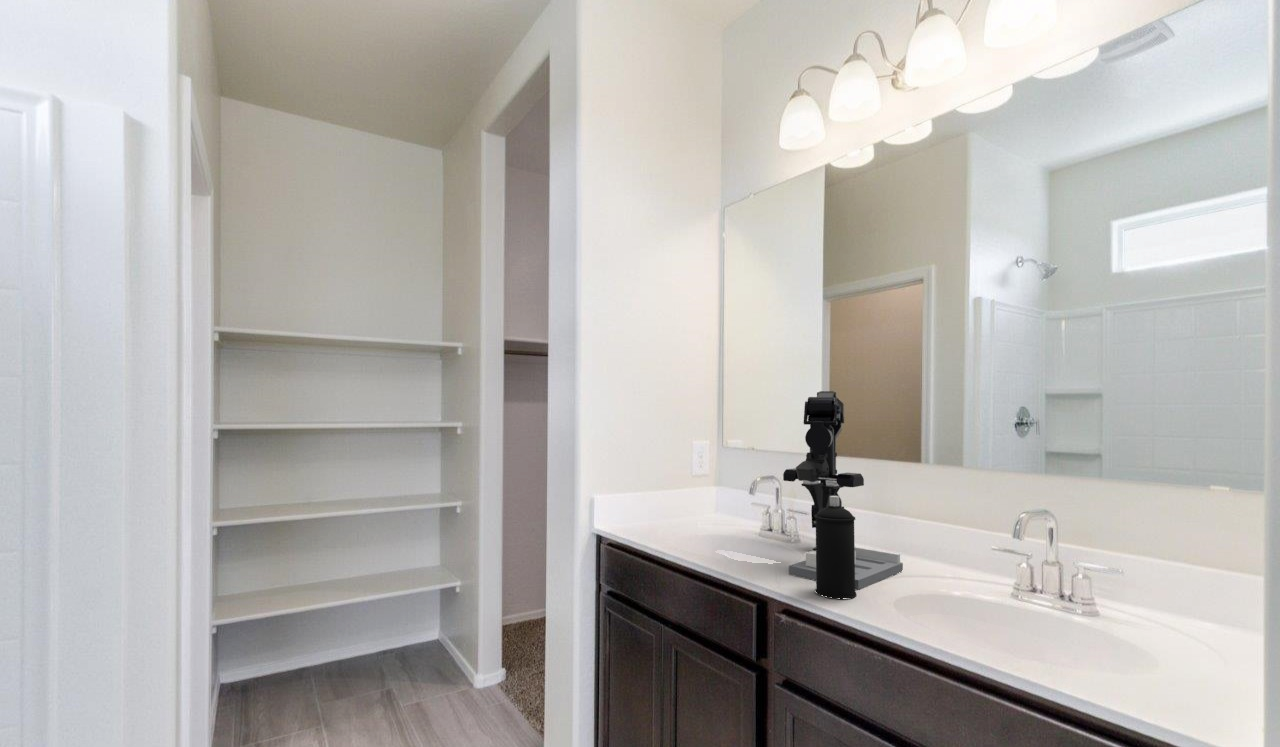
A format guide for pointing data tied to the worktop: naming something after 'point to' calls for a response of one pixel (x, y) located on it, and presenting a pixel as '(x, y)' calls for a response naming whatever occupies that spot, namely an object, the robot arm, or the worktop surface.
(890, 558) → the breaker panel
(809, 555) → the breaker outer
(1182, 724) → the worktop surface
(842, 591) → the aerosol can
